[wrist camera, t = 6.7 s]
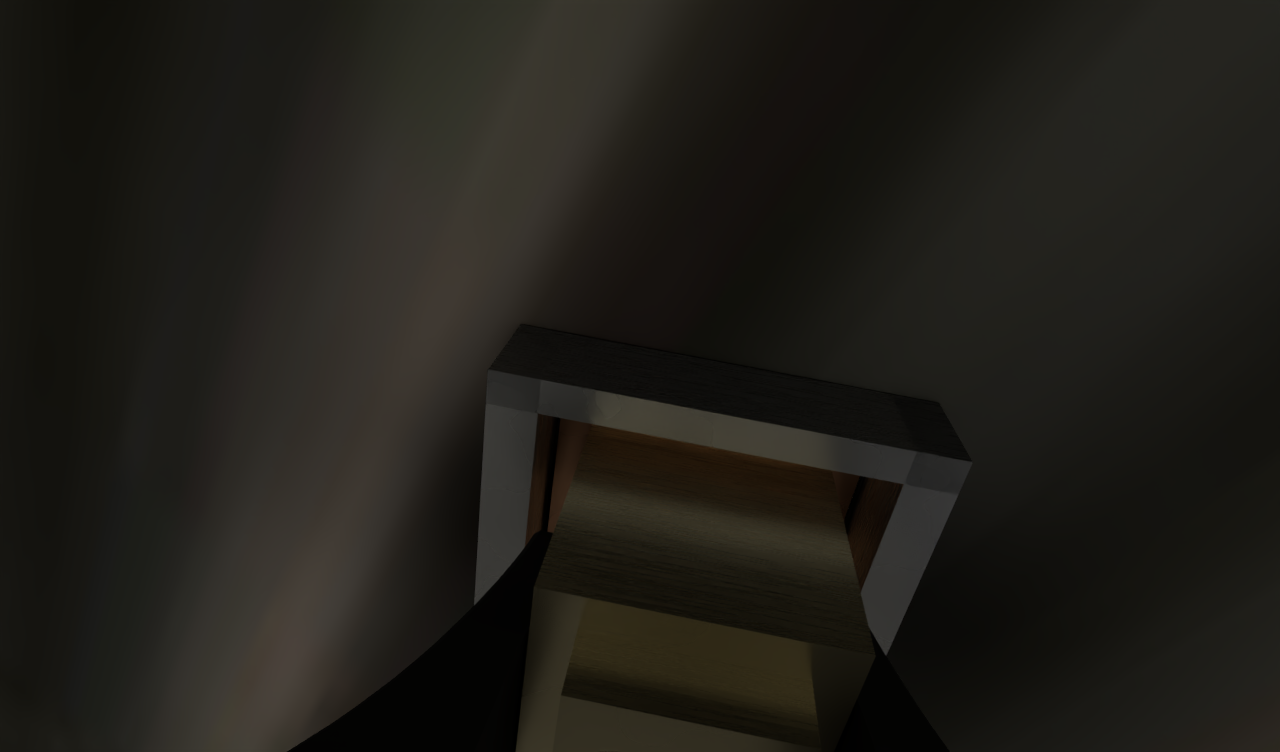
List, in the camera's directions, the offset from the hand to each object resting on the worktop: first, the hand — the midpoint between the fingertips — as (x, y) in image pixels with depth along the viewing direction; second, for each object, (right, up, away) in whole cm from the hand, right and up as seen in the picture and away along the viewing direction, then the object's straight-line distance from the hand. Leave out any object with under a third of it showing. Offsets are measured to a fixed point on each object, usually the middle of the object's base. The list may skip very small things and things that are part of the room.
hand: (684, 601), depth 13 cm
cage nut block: (0, +1, +1) cm, 2 cm away
